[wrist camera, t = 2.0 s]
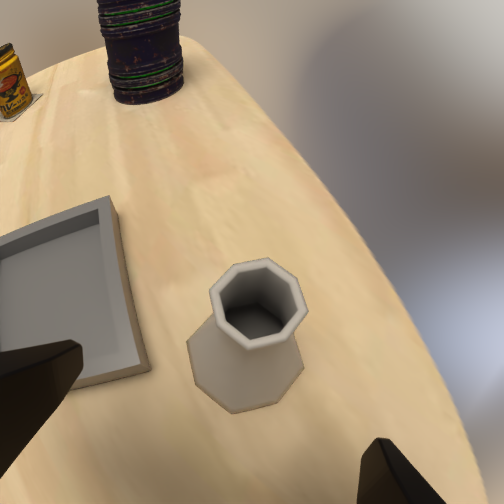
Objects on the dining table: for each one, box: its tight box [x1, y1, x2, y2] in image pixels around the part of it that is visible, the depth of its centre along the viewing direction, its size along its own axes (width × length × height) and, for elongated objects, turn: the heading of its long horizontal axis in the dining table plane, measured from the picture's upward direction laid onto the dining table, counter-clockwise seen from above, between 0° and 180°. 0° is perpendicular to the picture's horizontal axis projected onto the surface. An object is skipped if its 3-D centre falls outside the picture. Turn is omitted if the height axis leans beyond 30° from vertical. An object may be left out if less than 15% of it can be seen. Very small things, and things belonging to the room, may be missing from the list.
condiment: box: [0, 43, 42, 122], centre depth 28 cm, size 7×8×12 cm
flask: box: [186, 258, 309, 414], centre depth 14 cm, size 7×7×10 cm
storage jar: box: [97, 0, 184, 105], centre depth 28 cm, size 10×10×15 cm
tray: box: [0, 195, 151, 390], centre depth 18 cm, size 13×13×2 cm
